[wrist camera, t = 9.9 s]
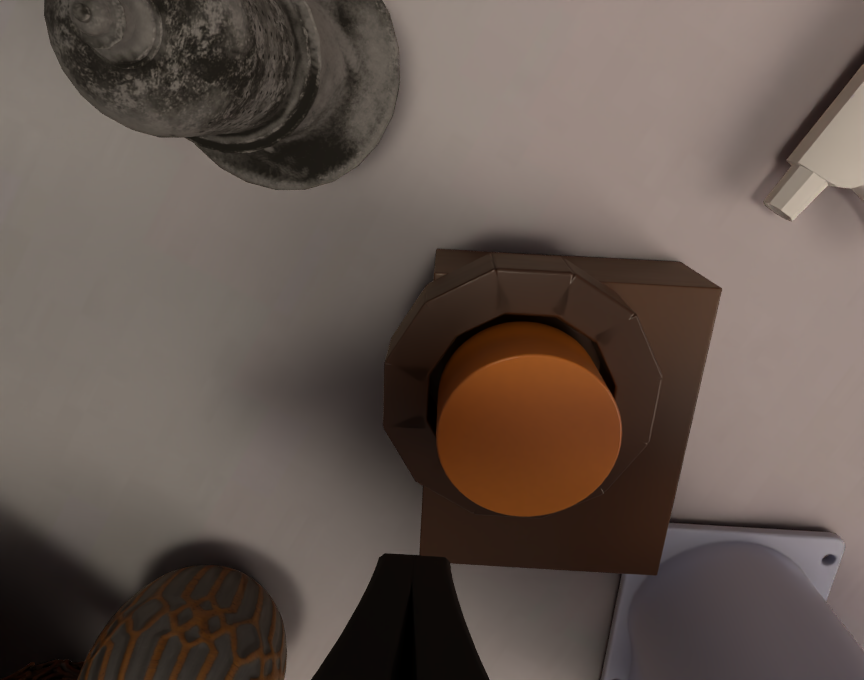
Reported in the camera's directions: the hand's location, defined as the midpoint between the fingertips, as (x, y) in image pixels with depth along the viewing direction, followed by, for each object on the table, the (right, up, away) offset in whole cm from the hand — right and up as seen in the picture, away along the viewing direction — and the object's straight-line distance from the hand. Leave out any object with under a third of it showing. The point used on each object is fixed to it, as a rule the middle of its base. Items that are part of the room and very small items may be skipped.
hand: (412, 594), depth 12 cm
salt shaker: (-3, +13, +6) cm, 15 cm away
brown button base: (+4, +3, +9) cm, 11 cm away
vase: (-8, -6, +13) cm, 17 cm away
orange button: (+3, +4, +4) cm, 6 cm away
